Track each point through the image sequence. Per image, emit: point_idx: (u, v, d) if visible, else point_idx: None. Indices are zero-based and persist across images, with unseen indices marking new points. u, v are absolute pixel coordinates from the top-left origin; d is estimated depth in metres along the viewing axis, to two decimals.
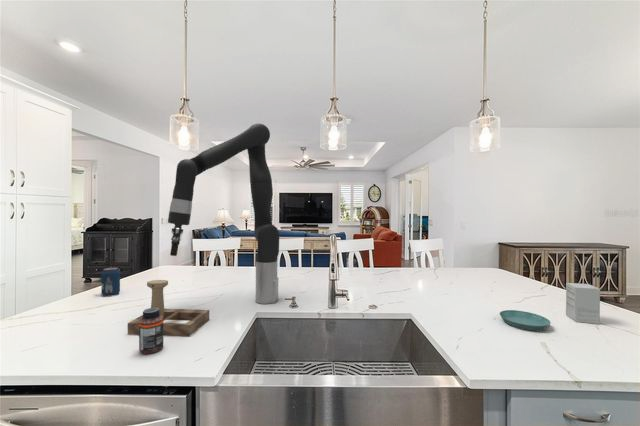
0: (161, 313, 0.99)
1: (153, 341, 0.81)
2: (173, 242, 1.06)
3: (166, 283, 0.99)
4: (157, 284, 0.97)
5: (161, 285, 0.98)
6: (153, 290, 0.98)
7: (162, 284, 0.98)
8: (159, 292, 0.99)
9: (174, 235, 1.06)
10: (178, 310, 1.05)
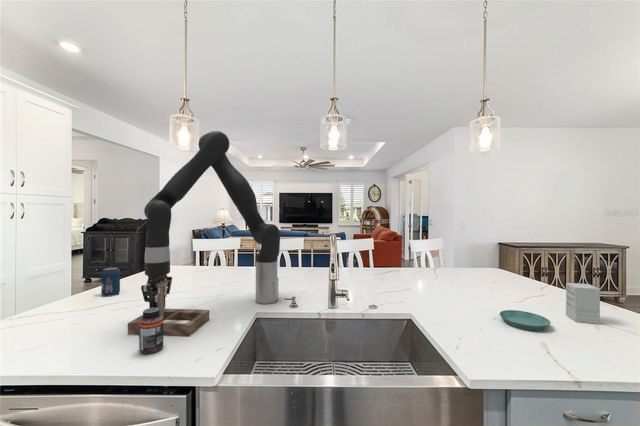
0: (161, 313, 0.99)
1: (153, 341, 0.81)
2: (146, 300, 0.95)
3: (166, 283, 0.99)
4: (157, 284, 0.97)
5: (161, 285, 0.98)
6: None
7: (162, 284, 0.98)
8: None
9: (144, 294, 0.94)
10: (178, 310, 1.05)
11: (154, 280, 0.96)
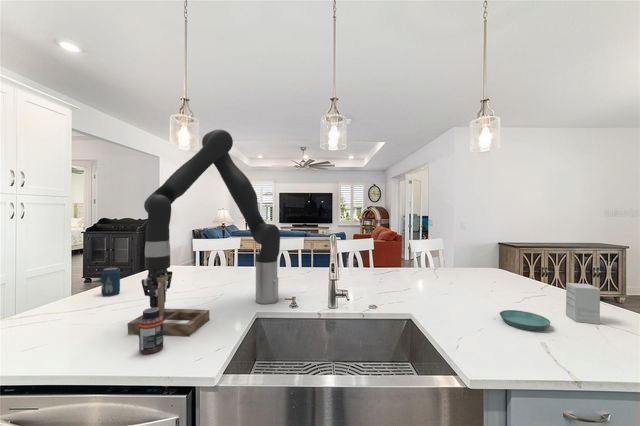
0: (161, 307, 0.99)
1: (153, 341, 0.81)
2: (146, 295, 0.95)
3: (166, 277, 0.99)
4: (157, 278, 0.97)
5: (161, 279, 0.98)
6: None
7: (162, 278, 0.98)
8: (160, 286, 0.99)
9: (144, 288, 0.94)
10: (178, 310, 1.05)
11: (154, 274, 0.96)
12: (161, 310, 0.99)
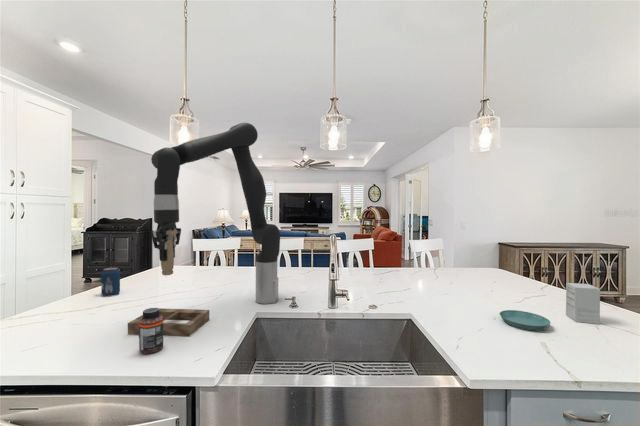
0: (171, 261, 0.99)
1: (153, 341, 0.81)
2: (156, 247, 0.95)
3: (175, 231, 0.99)
4: (166, 232, 0.97)
5: (170, 233, 0.98)
6: None
7: (171, 232, 0.98)
8: (169, 240, 0.99)
9: (154, 240, 0.94)
10: (178, 310, 1.05)
11: (163, 227, 0.96)
12: (170, 264, 0.99)
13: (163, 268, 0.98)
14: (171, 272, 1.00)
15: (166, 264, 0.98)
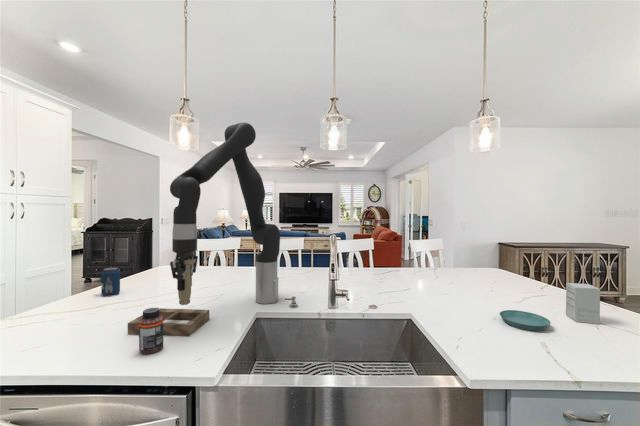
0: (188, 291, 0.98)
1: (153, 341, 0.81)
2: (174, 277, 0.94)
3: (193, 261, 0.99)
4: (185, 261, 0.97)
5: (189, 262, 0.97)
6: None
7: (190, 261, 0.97)
8: (187, 270, 0.98)
9: (173, 270, 0.93)
10: (178, 310, 1.05)
11: (182, 257, 0.95)
12: (188, 293, 0.98)
13: (181, 298, 0.97)
14: (188, 301, 0.99)
15: (184, 294, 0.97)
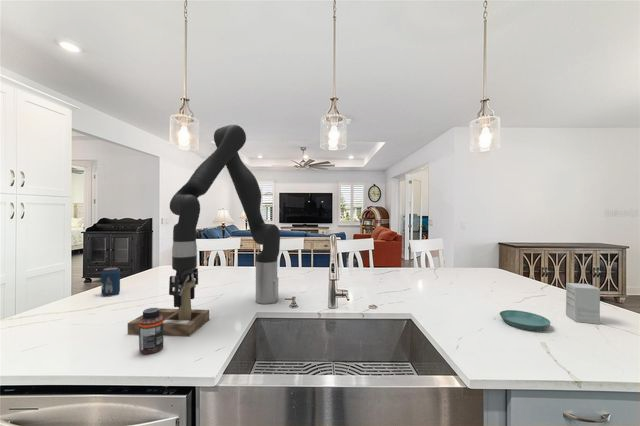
0: (188, 314, 0.98)
1: (153, 341, 0.81)
2: (170, 293, 0.92)
3: (193, 283, 0.99)
4: None
5: (189, 285, 0.97)
6: None
7: (190, 284, 0.97)
8: (187, 293, 0.98)
9: (171, 285, 0.92)
10: None
11: (182, 274, 0.96)
12: (188, 316, 0.98)
13: None
14: None
15: (184, 317, 0.97)
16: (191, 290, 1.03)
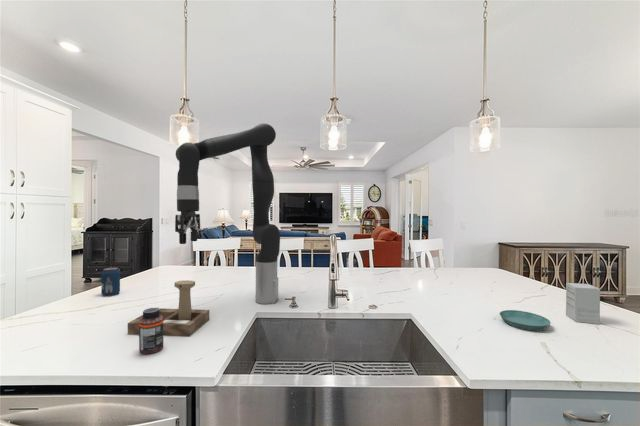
0: (188, 314, 0.98)
1: (153, 341, 0.81)
2: (176, 230, 1.02)
3: (193, 284, 0.99)
4: (185, 285, 0.97)
5: (189, 286, 0.97)
6: (181, 291, 0.98)
7: (190, 285, 0.97)
8: (187, 293, 0.98)
9: (176, 222, 1.02)
10: None
11: (187, 215, 1.06)
12: (188, 316, 0.98)
13: None
14: None
15: (184, 317, 0.97)
16: (194, 233, 1.13)
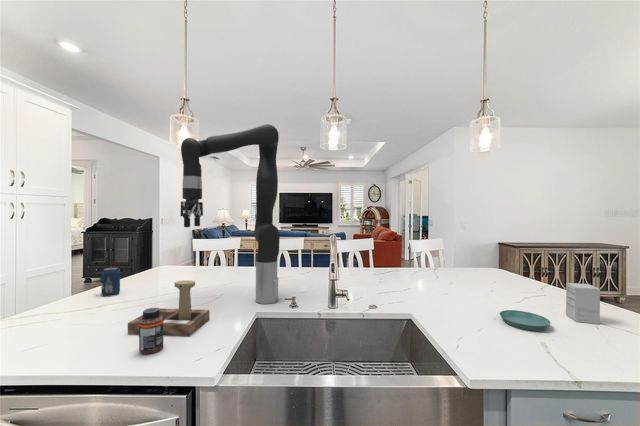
0: (188, 314, 0.98)
1: (153, 341, 0.81)
2: (181, 214, 1.16)
3: (193, 284, 0.99)
4: (185, 285, 0.97)
5: (189, 286, 0.97)
6: (181, 291, 0.98)
7: (190, 285, 0.97)
8: (187, 293, 0.98)
9: (182, 208, 1.16)
10: None
11: (191, 202, 1.20)
12: (188, 316, 0.98)
13: None
14: None
15: (184, 317, 0.97)
16: (197, 219, 1.27)
